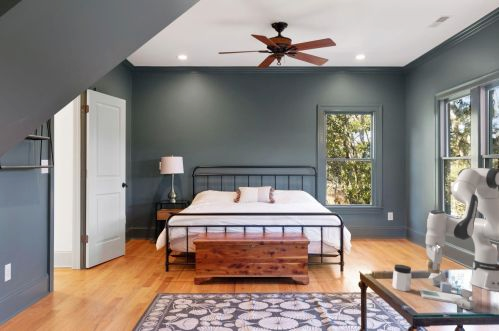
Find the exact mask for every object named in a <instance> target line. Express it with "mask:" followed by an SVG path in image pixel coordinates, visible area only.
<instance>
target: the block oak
mask: <svg viewBox="0 0 499 331" xmlns="http://www.w3.org/2000/svg"><path fill="white" fill-rule="evenodd" d="M425 263H426V264H425V271H426V272H427V273H430V274H431V273H436V274H439V273H440V272H441V271H440V270H441V264H438V265H437V270H433V269H432V266H433V261H432V260H429V258H428V259H426V262H425Z"/></svg>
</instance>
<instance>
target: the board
mask: <svg viewBox="0 0 499 331" xmlns="http://www.w3.org/2000/svg"><path fill="white" fill-rule="evenodd" d="M418 292H419V294H420V296H421V297H422V299H426V300H432V301H439V302H445V303H452V304H456V300H457V299H460V298H463V297H462V296H463V295H461V294H456V293H455V294H453V293H451V294H449V293H443V292H441V291H435V290H431V289H430V290H429V289H423V288H418Z"/></svg>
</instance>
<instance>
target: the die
mask: <svg viewBox="0 0 499 331" xmlns="http://www.w3.org/2000/svg"><path fill="white" fill-rule="evenodd" d="M427 280H429V282H430V283H431V285H432V286H434V287H440V282H441V281H442V282H447V280H448V278H447V277H446V276H445V275H444V273H443V272H442V271H440V273H439V274H436V273H430V274H429V277H428V278H427Z"/></svg>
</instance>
